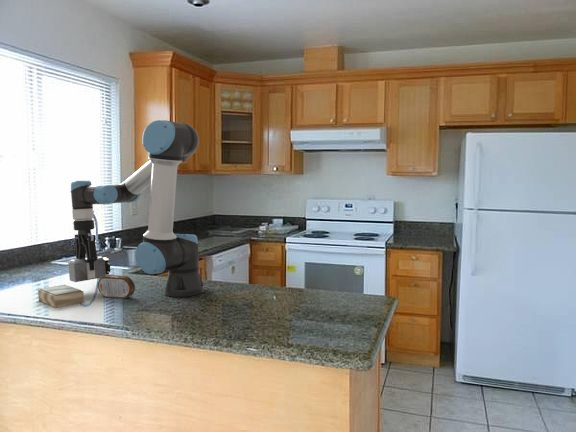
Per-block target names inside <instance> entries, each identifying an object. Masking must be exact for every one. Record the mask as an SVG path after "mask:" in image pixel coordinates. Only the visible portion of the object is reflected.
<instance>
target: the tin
mask: <svg viewBox="0 0 576 432" xmlns="http://www.w3.org/2000/svg"><path fill="white" fill-rule="evenodd" d="M97 290H98V292H99V294H100V295H101V296H103V297H104V298H109V299H127V298H129V297H132V296H133V295H134V294H135V290H136V287H135V283H134V281H133V279H131V278H130V277H129V276H126V275H118V274H117V275H116V274H115V275H114V274H109V275H106V276H104V277H102V278H101V279H100V280H99V281H97Z"/></svg>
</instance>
